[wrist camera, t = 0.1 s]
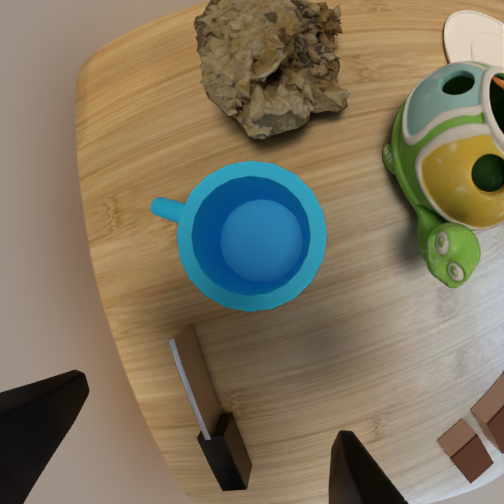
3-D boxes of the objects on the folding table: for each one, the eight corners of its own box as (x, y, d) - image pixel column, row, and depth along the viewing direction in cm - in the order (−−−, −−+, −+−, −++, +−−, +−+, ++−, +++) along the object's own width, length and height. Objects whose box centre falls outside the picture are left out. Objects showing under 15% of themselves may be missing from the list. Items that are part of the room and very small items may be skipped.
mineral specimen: (364, 149, 23) (404, 93, 13) (214, 162, 24) (172, 110, 14) (332, 29, 23) (342, -39, 13) (209, 40, 24) (182, -25, 15)
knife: (252, 464, 24) (246, 493, 19) (230, 466, 24) (221, 494, 20) (202, 322, 24) (185, 336, 20) (177, 327, 25) (156, 341, 20)
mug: (326, 209, 23) (345, 187, 15) (294, 305, 23) (297, 332, 15) (190, 168, 24) (150, 134, 16) (160, 257, 25) (108, 259, 17)
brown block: (458, 466, 21) (470, 483, 17) (436, 440, 21) (451, 459, 17) (479, 447, 20) (493, 463, 16) (461, 418, 21) (477, 435, 17)
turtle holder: (335, 236, 23) (381, 220, 11) (406, 78, 22) (452, 3, 10) (446, 304, 22) (534, 333, 10) (498, 145, 21) (568, 107, 9)
